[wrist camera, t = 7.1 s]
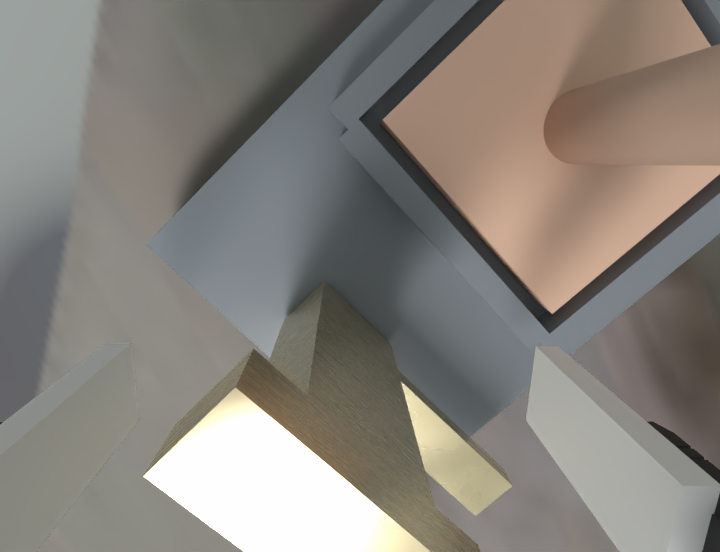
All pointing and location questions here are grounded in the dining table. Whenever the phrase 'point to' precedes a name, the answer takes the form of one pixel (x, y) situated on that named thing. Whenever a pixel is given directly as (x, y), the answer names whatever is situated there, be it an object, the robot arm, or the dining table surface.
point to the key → (324, 447)
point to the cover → (568, 132)
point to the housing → (397, 226)
